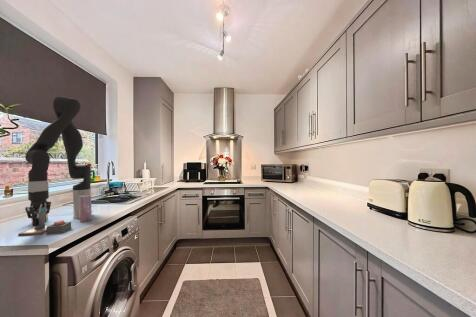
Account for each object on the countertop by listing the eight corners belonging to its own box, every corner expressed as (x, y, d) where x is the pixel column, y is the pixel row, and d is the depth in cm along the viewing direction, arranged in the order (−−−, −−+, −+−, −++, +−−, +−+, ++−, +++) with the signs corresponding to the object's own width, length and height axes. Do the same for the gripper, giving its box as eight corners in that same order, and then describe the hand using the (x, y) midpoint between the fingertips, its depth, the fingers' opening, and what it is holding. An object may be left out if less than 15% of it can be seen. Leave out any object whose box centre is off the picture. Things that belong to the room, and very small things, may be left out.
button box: (56, 229, 114) (56, 222, 114) (71, 228, 115) (71, 221, 115) (46, 233, 107) (46, 226, 107) (62, 232, 108) (62, 225, 108)
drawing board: (37, 228, 117) (37, 226, 117) (58, 226, 118) (58, 224, 118) (18, 236, 105) (18, 233, 105) (41, 234, 106) (41, 232, 106)
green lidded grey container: (38, 227, 111) (37, 207, 111) (47, 227, 112) (46, 206, 111) (31, 230, 107) (31, 209, 107) (41, 230, 107) (40, 208, 107)
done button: (57, 223, 113) (57, 220, 113) (66, 223, 113) (66, 220, 113) (52, 226, 109) (51, 222, 109) (60, 225, 109) (60, 222, 109)
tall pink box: (89, 218, 133) (89, 194, 133) (93, 220, 130) (92, 195, 130) (77, 221, 129) (77, 195, 129) (81, 222, 125) (80, 196, 125)
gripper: (40, 188, 116) (41, 220, 116) (17, 192, 101) (18, 229, 102) (56, 187, 117) (57, 220, 117) (35, 191, 102) (36, 228, 103)
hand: (39, 224), depth 109 cm, fingers closed on green lidded grey container, 4 cm apart
